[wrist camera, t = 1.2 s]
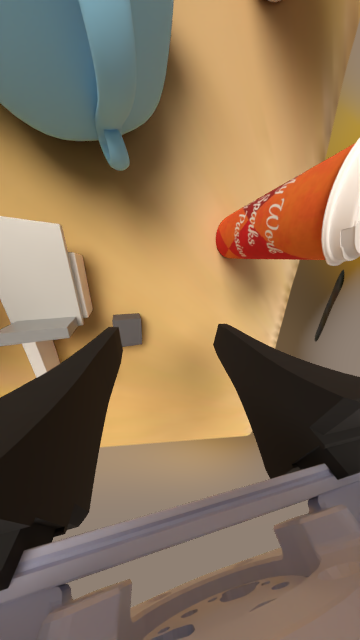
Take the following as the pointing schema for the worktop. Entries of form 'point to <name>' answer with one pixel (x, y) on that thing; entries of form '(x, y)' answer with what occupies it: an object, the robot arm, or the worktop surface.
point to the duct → (44, 351)
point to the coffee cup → (301, 216)
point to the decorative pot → (84, 67)
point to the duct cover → (36, 282)
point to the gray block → (129, 328)
